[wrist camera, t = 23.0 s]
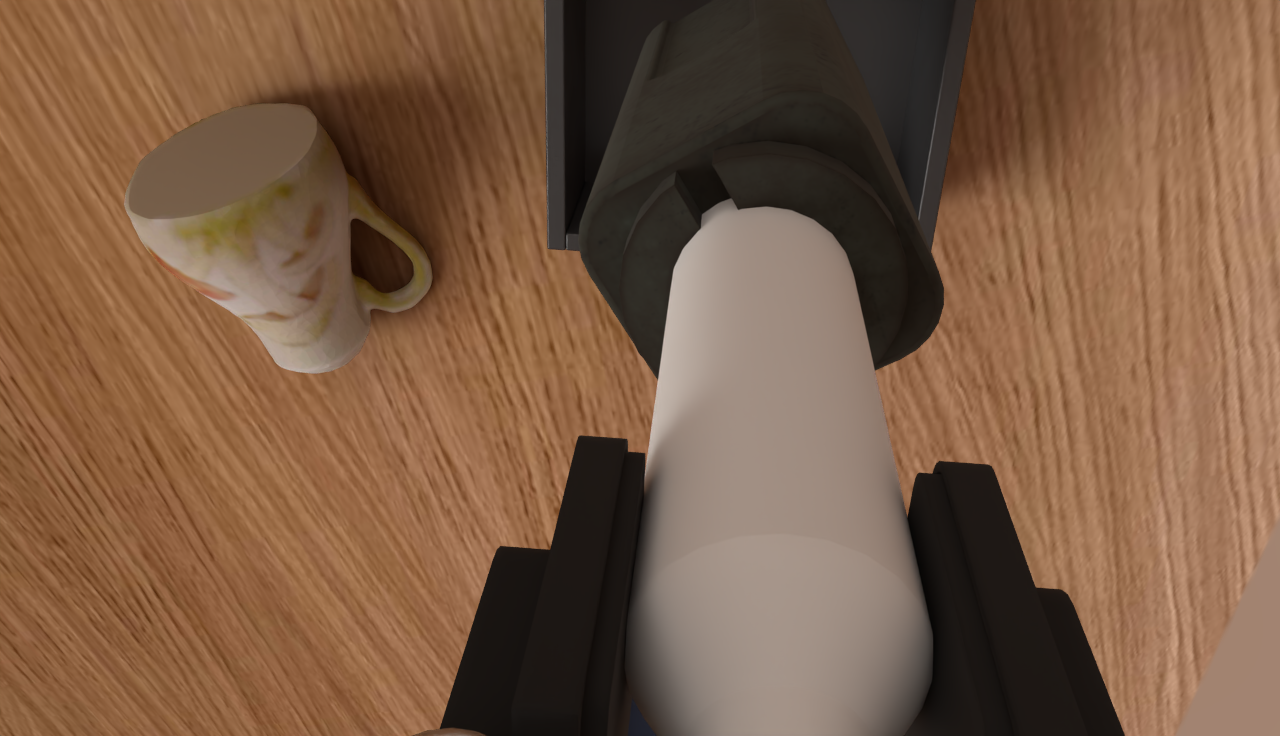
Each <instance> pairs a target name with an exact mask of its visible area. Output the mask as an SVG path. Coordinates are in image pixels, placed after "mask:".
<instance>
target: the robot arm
mask: <svg viewBox="0 0 1280 736" xmlns="http://www.w3.org/2000/svg"><path fill="white" fill-rule="evenodd" d="M644 482H645V453H637V452H628V441H627V439H621V438H607V437H593V436H579V437H578V440H577V443H576V447H575V451H574V455H573V459H572V463H571V467H570V472H569V476H568V480H567V484H566V488H565V492H564V496H563V500H562V504H561V508H560V512H559V516H558V520H557V524H556V529H555V533H554V537H553V541H552V545H551V549H550V550H545V549H532V548H519V547H506V546H500V547H499V548H498V549H497V551H496V553H495V556H494V558H493V561H492V565H491V568H490V571H489V574H488V577H487V580H486V584H485V587H484V590H483V593H482V596H481V599H480V603H479V606H478V609H477V612H476V615H475V619H474V622H473V625H472V628H471V631H470V634H469V638H468V641H467V644H466V647H465V650H464V653H463V657H462V660H461V663H460V666H459V669H458V673H457V676H456V679H455V682H454V685H453V688H452V692H451V695H450V698H449V701H448V704H447V707H446V711H445V714H444V717H443V720H442V723H441V727H440V729H436V730H427V731H424V732H421V733H419V734H416V735H413V736H628V729H629V720H630V712H631V703H632V696H631V695H630V693H629V688H628V683H627V678H626V673H625V667H624V665H625V646H626V629H627V617H628V609H629V602H630V595H631V587H632V580H633V572H634V565H635V558H636V550H637V543H638V535H639V528H640V521H641V513H642V506H643V498H644ZM907 519H908V523H909V528H910V532H911V537H912V541H913V546H914V551H915V555H916V560H917V564H918V569H919V573H920V578H921V582H922V587H923V591H924V596H925V600H926V605H927V609H928V614H929V619H930V623H931V628H932V632H933V676H932V682H931V685H930V688H929V690H928V693H927V696H926V699H925V702H924V704H923V707H922V709H921V711H920V712H919V714H918V715H917V717H916V718H915V720H914V721H913V723H912V724H911V726H910V727H909V729H908V730H907V732H906V733H905V735H904V736H1125V735H1124V732H1123V730H1122V727H1121V725H1120V722H1119V720H1118V717H1117V714H1116V712H1115V709H1114V707H1113V704H1112V702H1111V699H1110V697H1109V694H1108V692H1107V689H1106V686H1105V684H1104V681H1103V679H1102V676H1101V674H1100V671H1099V669H1098V666H1097V664H1096V661H1095V659H1094V656H1093V653H1092V651H1091V648H1090V646H1089V643H1088V641H1087V638H1086V636H1085V633H1084V631H1083V628H1082V626H1081V623H1080V620H1079V618H1078V615H1077V613H1076V610H1075V608H1074V605H1073V603H1072V601H1071V600H1070V598H1069V596H1068V594H1066V593H1065V592H1064V591H1062V590H1059V589H1047V588H1036V587H1035V584H1034V582H1033V579H1032V576H1031V573H1030V570H1029V568H1028V565H1027V562H1026V559H1025V556H1024V554H1023V551H1022V548H1021V545H1020V542H1019V540H1018V537H1017V534H1016V531H1015V528H1014V525H1013V523H1012V520H1011V517H1010V514H1009V511H1008V509H1007V506H1006V503H1005V500H1004V497H1003V495H1002V492H1001V489H1000V486H999V483H998V480H997V478H996V475H995V472H994V470H993V468H992V466H990V465H986V464H972V463H958V462H944V461H939V462H938V463H936V465H935V468H934V470H933V474H929V473H918V474H917V476H916V478H915V482H914V487H913V492H912V497H911V502H910V508H909V513H908V518H907Z"/></svg>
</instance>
